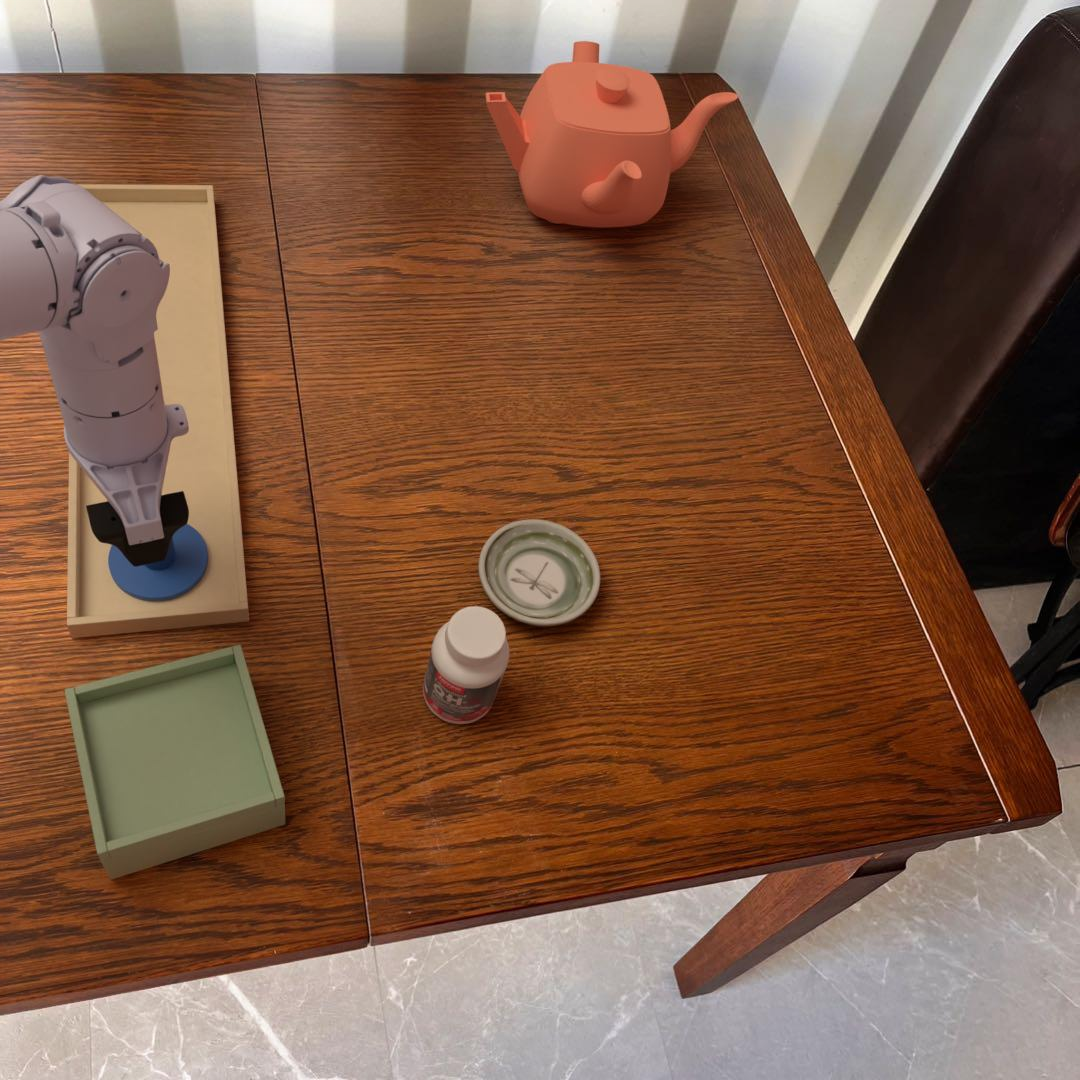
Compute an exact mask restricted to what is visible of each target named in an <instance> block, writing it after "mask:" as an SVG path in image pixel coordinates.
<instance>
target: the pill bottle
mask: <svg viewBox="0 0 1080 1080" xmlns="http://www.w3.org/2000/svg"><path fill="white" fill-rule="evenodd" d="M506 631H507V630H506V627H505V624H504V622H503V620H502V619H501V617H499V615H498V614H497V613H496V612H494V611H493V610H491V609H489V608H486V607H484V606H477V605H471V606H467V607H463V608H461V609H459V610H458V611H457V612H455V613H454V614H453V615H452V616H451V617H450V620H448V621H447V622H446V623H444V624H443V625H442V626H441V627H440V628H439V629H438V631H437V632H436V634H435V636H434V638H433V641H432V645H431V648H430V653H429V658H428V661H427V665H426V669H425V673H424V678H423V683H422V694H423V699H424V702H425V704H426V706H427V707H428V709H429V710H430V711H431V712H432V713H433V715H434V716H436V717H437V718H439V719H440V720H442V721H444V722H447V723H449V724H454V725H464V724H465V725H466V724H467V725H469V724H471V723H473V722H476V721H478V720H480V719H481V718H483V717H485V716H486V715H487V714H488V712H489V711H490V709H491V708H492V706H493V704H494V701H495V699H496V697H497V695H498V691H499V688H500V686H501V683H502V680H503V678H504V675H505V673H506V670H507V668H508V666H509V661H510V646H509V645H510V644H509V642H508V639H507V632H506Z"/></svg>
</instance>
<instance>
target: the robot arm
mask: <svg viewBox="0 0 1080 1080" xmlns="http://www.w3.org/2000/svg"><path fill="white" fill-rule="evenodd" d="M77 184H78V183H76V182H75V181H73V180H71V179H69V178H67V177H62V176H47V175H44V174H39V175H36V176H34V177H31V178H29V179H27V180H26V181H24V182H22V183H21V184H19V185H17V187H15V188H14V189H13V190H12V191H11V192H10V193H8V195H7V196H6V197H4V198H3V199H1V200H0V342H1V341H5V340H8V339H13V338H16V337H20V336H24V335H28V334H29V335H30V334H33V333H37V332H38V335H39V339H40V343H41V347H42V349H43V353H44V357H45V360H46V363H47V367H48V370H49V375H50V377H51V382H52V385H53V389H54V393H55V396H56V400H57V403H58V404H57V405H58V407H59V410H60V414H61V418H62V421H63V438H64V443H65V444H66V448H67V450H68V453H69V452H70V454H71V455H72V457H73V458H74V459H75V460H76V462H77V463H78V464H79V465H80V467H81V468H82V469H83V470H84V472H85V473H86V474H87V475H88V477H89V478H90V479H91V480H92V482H93V483H94V484H95V485H96V487H97V488H98V489H99V490H100V492H101V493H102V494H103V495H104V497H105V498H106V499H107V500H108V501H107V502H102V503H97V504H92V505H87V506H86V509H87V513H88V517H89V521H90V526H91V529H92V532H93V534H94V535H95V537H96V538H97V539H98V541H99V542H101V543H107V544H111V545H114V546H116V547H117V548H118V549H119V550H120V551H121V552H122V554H123V555H124V556H125V557H126V559H127V560H128V561H129V562H130V563H131V564H132V565H133V566H135V567H137V566H141V565H146V564H150V563H155V562H159V561H164V559H165V558H166V555H167V553H168V549H169V546H170V542H171V539H172V537H173V535H174V533H175V532H176V531H177V530H179V529H180V528H181V527H183V526H184V525H186V524H187V522H188V517H189V509H188V505H187V502H186V498H185V495H184V491H180V492H175V493H170V494H165V495H161V494H162V489H163V483H164V478H165V472H166V467H167V462H168V456H169V451H170V445H171V441H172V440H173V438H175V437H178V436H183V435H185V434H187V432H188V431H189V426H188V420H187V417H186V414H185V410H184V408H183V407H182V406H181V405H179V404H171V405H165V403H164V397H163V390H162V383H161V377H160V370H159V363H158V357H157V350H156V344H155V338H154V332H155V331H156V330H158V327H157V320H156V312H157V308H158V306H159V303H160V301H161V300H162V298H163V296H164V293H165V291H166V288H167V285H168V281H169V276H170V264H169V263H165V264H164V265H163V263H164V262H163V261H162V260H161V259H159V256H158V253H157V250H156V248H155V246H154V245H153V243H152V242H151V241H150V240H149V239H147V238H146V237H145V236H144V235H142V234H141V233H140V232H139V231H137V230H136V229H135V228H134V227H132V226H131V225H130V224H129V223H127V222H126V221H125V220H124V219H122V218H121V217H120V216H119V215H117V214H116V213H115V212H114V211H112V210H111V209H110V208H109V207H107V206H106V205H105V204H104V203H102V202H101V201H100V200H99V199H97V198H96V197H95V196H94V195H92V194H91V193H90V192H89V191H87V190H86V189H84V188H83V187H81V186H78V185H77Z"/></svg>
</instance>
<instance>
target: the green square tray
mask: <svg viewBox="0 0 1080 1080" xmlns="http://www.w3.org/2000/svg"><path fill="white" fill-rule="evenodd" d="M64 696H65V701H66V706H67V711H68V716H69V721H70V726H71V731H72V735H73V742H74V745H75V751H76V757H77V761H78V765H79V771H80V776H81V780H82V781H81V782H82V785H83V790H84V796H85V800H86V806H87V811H88V815H89V816H88V817H89V820H90V825H91V830H92V836H93V841H94V845H95V850H96V855H97V857H98V859H99V861H100V862H101V865H102V867H103V869H104V871H105V872H106V874H107V876H108V879H109V880H111V881H112V880H114V879H118V878H121V877H124V876H127V875H130V874H134V873H137V872H140V871H143V870H147V869H149V868H153V867H156V866H159V865H162V864H165V863H169V862H171V861H175V860H179V859H180V858H181V859H182V858H185V857H187V856H190V855H194V854H197V853H200V852H203V851H207V850H210V849H212V848H217V847H219V846H222V845H225V844H228V843H232V842H235V841H237V840H241V839H244V838H247V837H251V836H254V835H257V834H260V833H263V832H266V831H269V830H272V829H275V828H276V829H277V828H279V827H282V826H285V825H286V804H285V803H286V797H285V792H284V789H283V786H282V782H281V778H280V775H279V772H278V768H277V765H276V761H275V757H274V754H273V751H272V748H271V743H270V740H269V736H268V734H267V730H266V727H265V724H264V720H263V717H262V713H261V709H260V706H259V701H258V699H257V696H256V692H255V688H254V685H253V682H252V677H251V675H250V672H249V668H248V665H247V661H246V658H245V654H244V650H243V648H242V645H241V644H236V645H233V646H229V647H224V648H221V649H216V650H212V651H209V652H205V653H200V654H197V655H193V656H189V657H185V658H181V659H177V660H174V661H169V662H166V663H162V664H158V665H154V666H150V667H146V668H142V669H138V670H133V671H130V672H126V673H121V674H119V675H113V676H110V677H108V678H103V679H99V680H95V681H92V682H87V683H82V684H80V685H75V686H72V687H67V688H65V689H64Z"/></svg>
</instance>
